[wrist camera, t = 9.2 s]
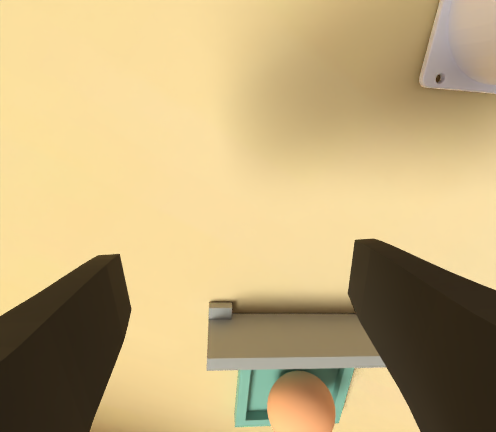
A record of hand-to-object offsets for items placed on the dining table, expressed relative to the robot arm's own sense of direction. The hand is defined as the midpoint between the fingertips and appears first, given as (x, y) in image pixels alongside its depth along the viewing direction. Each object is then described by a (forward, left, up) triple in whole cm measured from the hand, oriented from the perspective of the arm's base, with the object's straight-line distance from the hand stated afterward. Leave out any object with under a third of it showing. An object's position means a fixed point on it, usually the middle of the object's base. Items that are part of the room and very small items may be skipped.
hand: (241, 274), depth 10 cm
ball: (-6, +17, -10) cm, 20 cm away
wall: (-6, +11, -10) cm, 16 cm away
